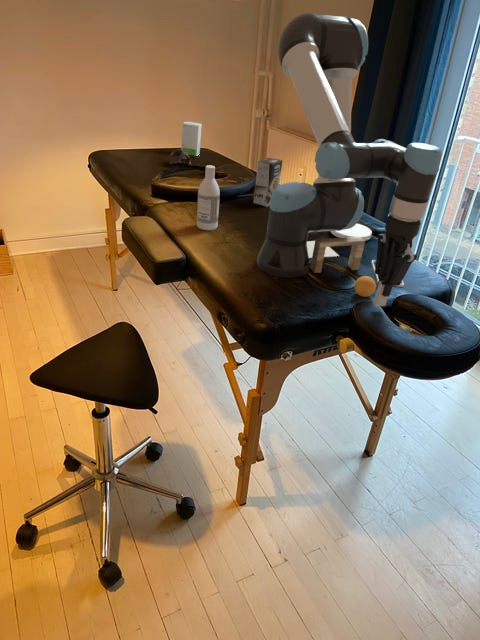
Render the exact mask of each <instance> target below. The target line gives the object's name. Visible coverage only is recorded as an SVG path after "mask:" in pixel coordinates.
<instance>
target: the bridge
mask: <svg viewBox="0 0 480 640" xmlns="http://www.w3.org/2000/svg"><path fill="white" fill-rule="evenodd" d="M314 241H315V245H314V250H313V256H312V258H311V262H310V265H309V268H310V269H309V270H311V271H312V272H313V273H314V274H316V273H317V274H319V273H321V272H322V268H323V264H324V259H325V257H324V254H325V249H326V247H330V248H332V247H345V246H346V247H348V246H351V250H350V253H349V258H348V261H347V267H348V268H350V269H351V270H352V271H358V270H359V269H360V266H361V261H362V257H363V253H364V249H365V246H366V245H365V243H366V241H365V240H364V239H362V238H361V237H344V238H339V237H330V238H329V237H328V238H327V237H326V238H325V237H324V238H315V239H314Z"/></svg>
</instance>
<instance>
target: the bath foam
mask: <svg viewBox="0 0 480 640" xmlns="http://www.w3.org/2000/svg"><path fill="white" fill-rule="evenodd" d="M215 170H216V167H215V165H211V164H209V165H208V164H207V165H206V166H205V175H204V176H205V177H204V178H203V180H202V181H201V183H200V184H199V187H198V189H197V190H198V191H197V209H196V210H197V212H196V227H197V228H198V229H199V230H203V231H215V230H216V229H217V228H218V226H219V225H218V223H219V210H220V196H221V195H220V194H221V193H220V192H221V191H220V187H219V184H218V182H217V180H216V178H215V175H216V174H215V173H216V171H215Z"/></svg>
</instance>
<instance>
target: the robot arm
mask: <svg viewBox="0 0 480 640" xmlns="http://www.w3.org/2000/svg"><path fill="white" fill-rule="evenodd" d="M368 36H369V35H368V32H367V29H366V27H365V25H364V24H363V23H362V22H361V21H360V20H359V19H355V18H352V17H350V16H346V15H343V16H337V15H330V14H329V15H328V14H319V13H315V12H314V13H313V12H306V13H305V12H304V13H300V14H299V15H295V17H294V18H292V19H291V20H290V21H288V23H287V24H286V25H285V26H284V28H283V30H282V32H281V34H280V36H279V40H278V45H277V54H278V55H277V56H278V61H279V64H280V67H281V69H282V71H283V73H284V75H286V76H287V77H288V78H289V77H290V80H291V82H292V84H293V87H294V89H295V93H296V94H297V96H298V99H299V102H300V104H301V106H302V109H303V111H304V113H305V117H306V118H307V120H308V123H309V125H310V128H311V131H312V133H313V135H314V138H315V140H316V142H317V145H318V148H317V150H316V153H315V155H314V163H315V170H316V172H317V174H318V176H317V178H315V180H314V181H313V182H312V184H311V183H307V182H298V181H293V182H292V181H291V182H290V181H289V182H285V183H282V184H279V186H277V187H276V188H275V189H274V190H273V192H272V196H271V201H270V204H269V206H268V207H269V209H268V210H269V211H268V218H267V227H266V235H265V239H264V242H263V244H262V245H261V248H260V250H259V253H258V254H257V257H256V266H257V268H258V269H260V271H263V273H265V274H268V275H271V276H273V277H279V278H288V279H289V278H290V279H291V278H298V277H302V276H304V275H306V274H307V273H308V272H309V270H310V269H309V268H310V265H311V262H310V258H309V255H308V249H307V241H308V239H309V234H310V233H318V232H319V233H320V232H330V231H333V230H335V231H340V230H344V229H350V228H352V227H353V226H355V225H356V224H358V222H359V221H360V219H361V217H362V215H363V212H364V207H365V199H364V195H363V192H362V191H361V190H360V189H359V188H357V187H356V179H358V178H359V179H369V178H371V179H372V178H374V179H375V178H378V179H379V178H383V179H387V180H389V181H390V182H392V183H394V184H396V185H395V189H394V190H393V191H394V192H393V195H392V198H391V203H390V206H389V210H388V211H389V213H388V214H387V218H386V222H385V225H384V229H385V233H381V234H377V250H376V257H375V258H376V259H375V260H376V262H375V265H374V266H375V274H377V276H378V279H379V281H378V283H377V284H376V291H375V296H374V299H373V302H372V303H373V305H374V306H375V307H383V306H384V307H385V306H386V305H387V301H388V298H389V297H390V295H391V292H392V288H393V287H398V286H399V285H400V284H401V282H402V280H403V281H404V278H405V276H406V274H407V272H408V271H409V268H411V265H412V264H413V262H415V261H416V260H417V259H418V255H417V254H416V253H413V251H412V247H413V240H414V238H415V237H417V236H418V234H419V231H420V228H421V225H422V220H421V219H423V217H424V215H425V212H426V209H427V205H428V201H429V199H430V195H431V193H432V189H433V187H434V183H435V181H436V177H437V175H438V173H439V171H440V164H441V161H442V156H443V152H442V149H441V148H439V147H438V146H436V145H431V144H429V143H425V142H411V143H409V144H407V147H404V146H402V145H400V144H397V143H396V142H394V141H392V140H389V139H388V140H387V139H384V138H379V139H375V140H374V141H373V142H370V143H369V142H356V141H355V139H354V137H353V135H352V132H351V131H352V94H353V93H352V85H353V79H354V78H355V77H356V76H357V75H358V73H359V68H360V67H362V65H363V64H364V62H365V61H366V56H367V55H368V52H369V37H368ZM375 274H374V275H375Z"/></svg>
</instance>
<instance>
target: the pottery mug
mask: <svg viewBox="0 0 480 640" xmlns="http://www.w3.org/2000/svg"><path fill="white" fill-rule="evenodd" d="M175 155H176V156H175ZM174 156H175V157H174ZM168 158H169V165H170V164H171V165H175V164H177V163H180V164H182V162H181V161H183V162H185V161H186V162H188V163H189V164H188V165H190V164H191V165H192V163H191V161H192V160H191V158H190V157H189V156H188V154H187V153H186V152H183V150H182V149H181V148H180V149H178V148H177V149H176V150H173V151H172V152H171V153H170V154H169V157H168Z"/></svg>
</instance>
